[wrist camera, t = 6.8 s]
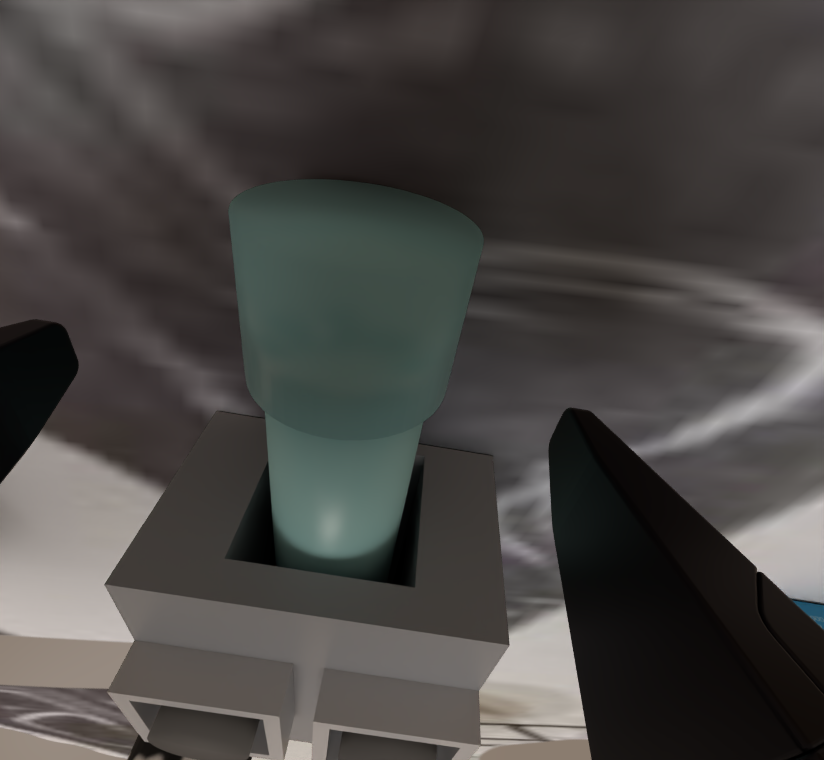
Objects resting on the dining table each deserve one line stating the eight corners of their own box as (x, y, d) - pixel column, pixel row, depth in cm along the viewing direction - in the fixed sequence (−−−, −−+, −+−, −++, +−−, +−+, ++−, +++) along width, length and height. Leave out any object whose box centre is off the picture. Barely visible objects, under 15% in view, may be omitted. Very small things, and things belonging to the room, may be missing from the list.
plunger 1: (179, 702, 16) (158, 754, 15) (163, 668, 14) (136, 725, 13) (267, 714, 16) (252, 767, 15) (262, 682, 14) (245, 740, 13)
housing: (242, 570, 25) (163, 766, 18) (216, 410, 17) (68, 640, 11) (437, 600, 25) (430, 803, 18) (492, 456, 18) (515, 706, 11)
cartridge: (388, 588, 24) (374, 703, 20) (290, 573, 23) (255, 686, 19) (478, 202, 11) (491, 293, 7) (277, 166, 11) (175, 238, 7)
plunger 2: (343, 725, 16) (334, 779, 15) (348, 695, 14) (338, 754, 13) (428, 738, 16) (426, 792, 15) (445, 709, 15) (444, 769, 13)
